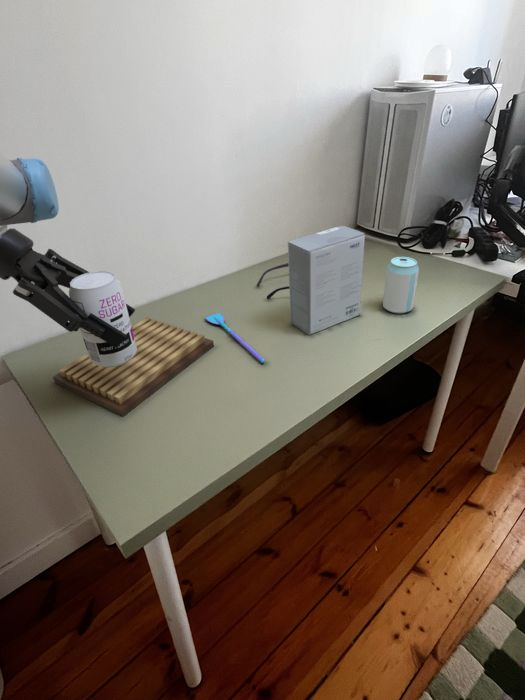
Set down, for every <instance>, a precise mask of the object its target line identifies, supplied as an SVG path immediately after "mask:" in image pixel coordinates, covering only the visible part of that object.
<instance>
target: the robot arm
mask: <svg viewBox="0 0 525 700" xmlns="http://www.w3.org/2000/svg"><path fill="white" fill-rule="evenodd" d="M59 208H60V207H59V199H58V195H57V191H56V187H55V183H54V180H53V177H52V174H51V172H50V170H49V167H48V165H47V164H46V163H45V161H43V160H41V159H39V158H22V157H17V158H16V159H8V157H6V156H5V155H3V154H2V153H0V280H2V281H7V280H10V279H11V278H12V279H13V280H15V281H16V282H17V284H16V286H15V287H14V289H13V290H12V294H13V295H14V296H16V297H18V298H20V299H22V300H24V301H26V302H28V303H29V304H31V305H32V306H33V307H35V308H37V309H38V310H39V312H42V313H43V314H44V315H46V316H47V317H49V318H50V319H52V321H54V322H55V323H56V324H58V325H60V326H61V327H62V328H63V329H65V330H66V331H68V332H70V333H72V332H78V331H79V330H80V328H83V329H84V330H86V331H88V332H89V333H91V334H93V335H94V336H96V337H99V338H101V339H102V340H104V341H106V342H107V343H109V344H111V345H112V346H114V347H116V348H117V347H118V346H119V345H120V344H121V343H122V341H123V340H124V339H125V338H126V336H127V335H126V334H124V333H123V332H121V331H119V330H118V329H116V328H115V327H113V326H111V325H110V324H108V323H106V322H105V321H103V320H102V319H100V318H98V317H97V316H95V315H94V314H92V313H90V315H89V316H88V315H87V314H86V313H85V312H84V311H83V310H82V309H81V308H80V307H79V306H78V305H77V304H76V303H75V302H74V301H73V300H72V299H71V298H70V297H69V294H67V293H66V292H65V291H64V290H63V289H62V288H61V287H64V288H68V289H70V282H71V281H72V280H73V279H74V278H76V277H77V276H80V275H82V274H85V273H89V272H90V271H88V270H86V269H84V267H83V268H82V267H81V266H79V265H78V264H76V263H73V262H72V261H70V260H68V259H67V258H64V256H63V257H62V255H60V254H59V253H57V252H56V251H55V250H54V249H52V248H48V249H47V251H46V252H45V253H44V254H43V253H40V252H38V251H35V250H34V249H33V246H34V245H35V244H34V240H33V239H31V238H30V237H28V236H27V235H25V234H23V233H22V232H20V231H19V230H18V229H16V228H8V226H10V225H18V224H28V223H30V224H36V223H37V222H41V221H46V220H47V221H48V220H52V219H54V218H56V217H57V215H58V214H59ZM60 286H61V287H60ZM126 307H127V311H128V315H129V319H130V317H131V316H133V314H134V313H136V312H135V311H136V309H135V308H134V307H132V306H131V305H129V304H127V303H126ZM76 314H77V315H78V316H77V315H76Z"/></svg>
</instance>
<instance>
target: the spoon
mask: <svg viewBox="0 0 525 700" xmlns="http://www.w3.org/2000/svg"><path fill="white" fill-rule="evenodd" d="M205 320H206V321H207V322H209V323H211V324H213V325H218V326H221V327H222V328H223V329H224V330H225V331H227V332H228V334H229V335H230V336H232V338H234V340H236V341H237V342H238V343H239V344H240V345H241V346H242V347H244V348H245V350H247V351H248V352H249V353H250V354H251V355H252V356H253V357H255V359H256V360H257V361H259V363H260V364H264V363H266V359H264V357H263V356H261V354H259V353H258V352H257V351H256V350H255V349H254V348H252V347H251V346H250V345H249V344H248V343H247V342H246V341H245V340H243V338H241V337H240V336H239V335H238V334H237V333H236V332H235V331H234V330H232V329H231V328H230V327H228V325H227V324H226V323H225V316H224V315H223V314H222V313H221V312H217V313H213V314H211V315H208V316H205Z"/></svg>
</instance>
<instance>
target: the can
mask: <svg viewBox="0 0 525 700" xmlns="http://www.w3.org/2000/svg"><path fill="white" fill-rule="evenodd" d="M419 273H420V268H419V266H418V261H417V260H416V259H415V258H414V257H413V258H412V257H408V256H396V257H393V258H392V259H390V262H389V264H388V265H387V266H386V273H385V281H384V282H385V283H384V289H383V300H382V306H383V308H384V309H385V310H386V311H388V312H390V313H393V314H399V315H400V314H405V313H408V312H410V311H412V310H413V309H414V304H415V298H416V291H417V285H418V279H419Z"/></svg>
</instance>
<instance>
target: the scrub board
mask: <svg viewBox="0 0 525 700" xmlns="http://www.w3.org/2000/svg"><path fill="white" fill-rule="evenodd" d="M131 327H132V331H133V335H134V339H135V343H136V347H137V351H136V354H135V355H134V356H133V358H132V359H131V360H130V361H128V362H126V363H125V364H123V365H120V366H117V367H110V368H107V367H101V366H98V365H95V364H93V363H92V362H91V361H90V358H89V355H88V352H87V353H85V354H83V355H82V356H80V357H79V358H77V359H76V360H74V361H72V362H70V363H68V364H67V365H66V366H63V367H62V368H60V369H59V373H57V374H55V375H53V376H52V379H53V381H54V384H56V385H58V386H61V387H62V388H65V389H66V390H69V391H71V392H73V393H75V394H77V395H78V396H80V397H82V398H84V399H87V400H88V401H91V402H93V403H95V404H97V405H99V406H101V407H103V408H105V409H107V410H109V411H111V412H113V413H115V414H117V415H119V416H121V417H125V416H126V415H128V414H129V413H130V412H132V411H133V410H134V409H135V408H137V407H138V406H139V405H141V404H142V403H143V402H144V401H146V400H147V399H149V398H150V397H151V396H152V395H153V394H154V393H156V392H157V391H159V390H160V389H161V388H163V386H165V385H166V384H167V383H169V382H170V381H172V380H173V379H174V378H175V377H176V376H178V375H179V374H180V373H181V372H184V370H185V369H187V368H188V367H190V366H191V365H192V364H193V363H195V362H196V361H197V360H198V359H200V358H202V357H203V356H204V355H205V354H206V353H208V352H209V351H210V350H212V349H213V348H214V347H215V345H214V340H212V339H209V338H206V337H205V334H201V333H199V334H198V332H195V331H193V332H191V330H190V329H185V330H184V328H183V327H178V326H177V325H175V324H170V323H167V322H166V323H165V322H164V321H161V320H158V319H156V318H153V319H152V317H148V316H147V317H145V318H144V319H142V320H140V321H138V322H137V323H135V324H133V325H131Z"/></svg>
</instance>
